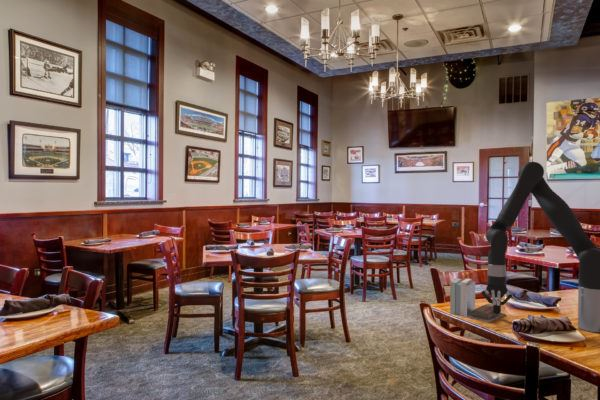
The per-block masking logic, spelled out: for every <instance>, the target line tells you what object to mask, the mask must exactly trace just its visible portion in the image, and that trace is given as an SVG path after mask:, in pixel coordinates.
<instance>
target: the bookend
mask: <svg viewBox="0 0 600 400" xmlns="http://www.w3.org/2000/svg"><path fill="white" fill-rule="evenodd" d="M474 309H476V281H475V280H472V282H471V283H470V284H468V285H466V286H465V316H464V315H459V314H452V313H450V315H454V316H461V317H464V318H467V315H470V314H472V311H473V310H474Z"/></svg>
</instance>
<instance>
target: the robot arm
mask: <svg viewBox="0 0 600 400" xmlns="http://www.w3.org/2000/svg"><path fill="white" fill-rule="evenodd" d="M544 175H545V169H544V167H543V166H542V164H540V163H539V162H537V161H530V162H527V163H524V164H523V165H522V166H521V167H520V168H519V171H518V174H517V177H518V180H517V182H516V184H515V187H514V188H513V190H512V191H511V194H510V195H509V196H508V198H507V200H506V202H505V203H504V205H502V208H501V210H500V212H499V213H498V215H497V218H496V219H495V221H493V222H492V224H491V225H490V226H489V228H488V230H487V232H486V234H485V239H486V241H487V242H488V243H489V244H490V250H489V251H488V254H487V270H486V274H487V275H486V276H487V286H486V289H484V290H482V291H481V294H482V295H483V297H484V298H485V300H486V301H487V302H488V304H493V311H494V312H495V314H499V313H502V312H501V311H502V306H504V305H505V304H506V303H507V302H509V300H510V299H511V298H512V297H513V296H514V295H513V293H511V292H509V291H508V287H507V266H506V264H507V263H506V261H507V260H506V253H507V249H508V241H509V240H508V235H507V233H506V232H507V231H508V230H509V229H510V228H512V227H513V225H514V224H515V222H516V221H517V219H518V217H519V215H520V213H521V211H522V209H523V207H524V205H525V203H526V201H527V200H528V197H529V196H530V194H532V196H533V197H534V199H535V201H536V202H537V203H538V206H539V207H540V209H541V210H542V211H543V213H544V214H545V216H546V217H547V219H548V221H549V222H550V223H551V224H552V226H553V227H554V228H555V230H556V231H557V232H558V233H559V235H561V236H562V237H563V238H564V239H565V240H566V241H567V243H568V245H569V246H570V247H571V249H572V250H573V252H574V253H575V255H576V257H577V259H578V289H577V290H578V292H577V293H578V295H577V299H578V301H577V303H578V304H577V328H578V329H580V330H582V331H586V332H591V333H600V248H599V247H598V246H597V245H596V244H595V243H594V242H593V241H592V240H591V238H590V237H589V236H588V234H587V233H586V231H585V229H584V228H583V226H582V224H581V222H580V221H579V219H578V217H577V216H576V214H575V212H574V211H573V210H572V209H571V207H570V206H569V204H568V203H567V202H566V201H565V200H564V199H563V198H562V197H560V196H559V195H558V194H557V193H556V192H555V191H554V190H553V189H552V188H551V187H550V185H549V184H548V183H547V181H546V179H545V178H544ZM490 296H491V297H490ZM504 296H506V298H505V299H504V300H503V299H502V298H503V297H504ZM502 300H503V301H502Z"/></svg>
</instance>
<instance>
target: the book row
mask: <svg viewBox="0 0 600 400" xmlns="http://www.w3.org/2000/svg"><path fill="white" fill-rule="evenodd" d="M471 282H473V279H472V278H465V279H464V280H462V278H455V279H454V280H452V281H450V282H449V283H450V284H449V285H450V286H449V300H450V301H449V313H450V314H451V313H452V314H451V315H453V314H459V315H464V316H463V317H465V286H466V285H468V284H470V283H471ZM459 315H458V316H459Z"/></svg>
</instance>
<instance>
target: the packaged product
mask: <svg viewBox="0 0 600 400" xmlns="http://www.w3.org/2000/svg"><path fill="white" fill-rule="evenodd" d="M505 315H506V313H503V312H500V313H499V314H495V312H494V311H493V304H491V303H486V304H484V305H482V306H478V307H475V309H474V310H473V311H472V314H470V315H467V317H466V318H467V319H471V320H476V321H481V322H485V323H491V322H493V321H495V320H497V319H499V318H501V317H503V316H505Z"/></svg>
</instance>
